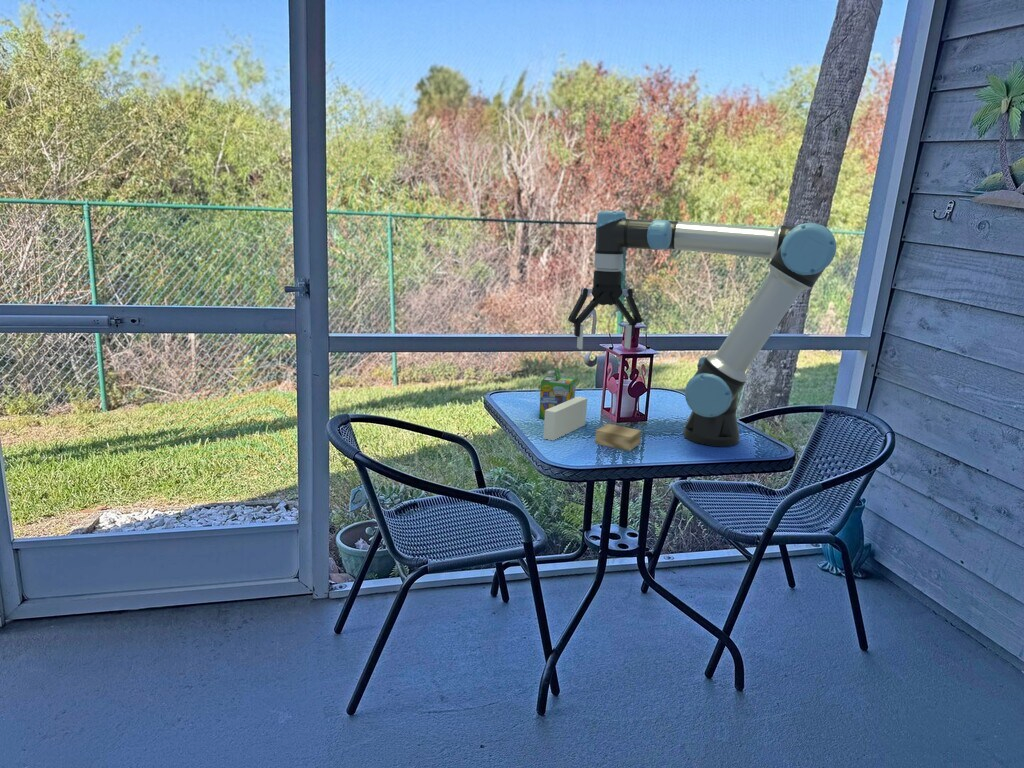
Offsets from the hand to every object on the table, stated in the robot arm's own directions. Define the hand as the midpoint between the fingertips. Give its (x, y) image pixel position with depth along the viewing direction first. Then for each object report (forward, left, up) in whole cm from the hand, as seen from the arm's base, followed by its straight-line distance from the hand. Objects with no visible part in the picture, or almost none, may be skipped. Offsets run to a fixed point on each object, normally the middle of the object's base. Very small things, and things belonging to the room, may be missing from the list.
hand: (603, 348), depth 201 cm
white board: (+7, +5, -24) cm, 26 cm away
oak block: (-9, +5, -25) cm, 26 cm away
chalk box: (+16, -7, -24) cm, 30 cm away
